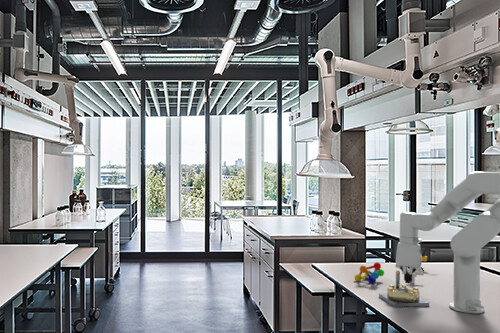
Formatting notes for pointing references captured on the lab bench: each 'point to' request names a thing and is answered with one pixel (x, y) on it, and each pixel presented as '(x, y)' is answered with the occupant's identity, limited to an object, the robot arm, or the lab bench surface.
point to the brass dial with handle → (402, 291)
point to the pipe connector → (415, 275)
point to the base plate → (402, 303)
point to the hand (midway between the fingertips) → (408, 282)
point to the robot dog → (423, 257)
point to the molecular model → (370, 273)
